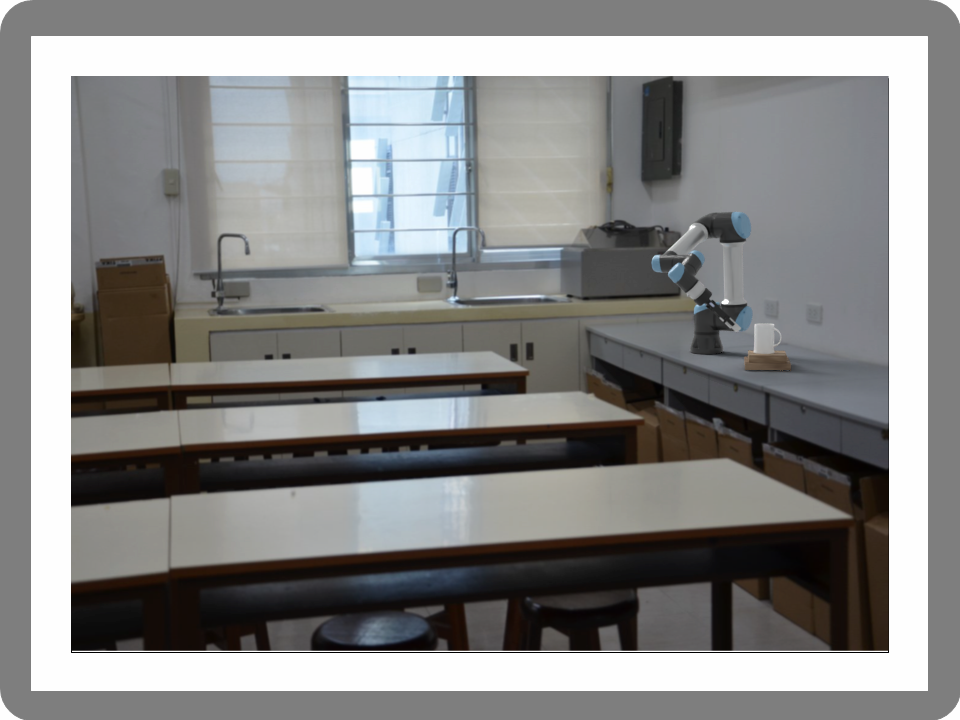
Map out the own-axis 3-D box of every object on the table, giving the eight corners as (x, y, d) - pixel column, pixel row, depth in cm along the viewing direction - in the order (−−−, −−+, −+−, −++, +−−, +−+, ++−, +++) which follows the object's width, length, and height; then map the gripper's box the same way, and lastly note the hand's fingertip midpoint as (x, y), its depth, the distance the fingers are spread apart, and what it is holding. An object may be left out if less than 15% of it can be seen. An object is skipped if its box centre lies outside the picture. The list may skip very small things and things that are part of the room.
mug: (785, 353, 398) (786, 324, 397) (774, 355, 393) (775, 326, 391) (760, 350, 407) (761, 322, 405) (749, 352, 401) (749, 324, 400)
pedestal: (744, 363, 412) (744, 349, 411) (788, 363, 408) (788, 350, 407) (744, 370, 394) (745, 356, 393) (790, 371, 390) (791, 356, 389)
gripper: (688, 297, 412) (723, 330, 413) (697, 303, 387) (735, 339, 389) (700, 284, 411) (736, 318, 412) (711, 289, 386) (748, 325, 388)
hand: (735, 328), depth 400 cm, fingers open, 13 cm apart
